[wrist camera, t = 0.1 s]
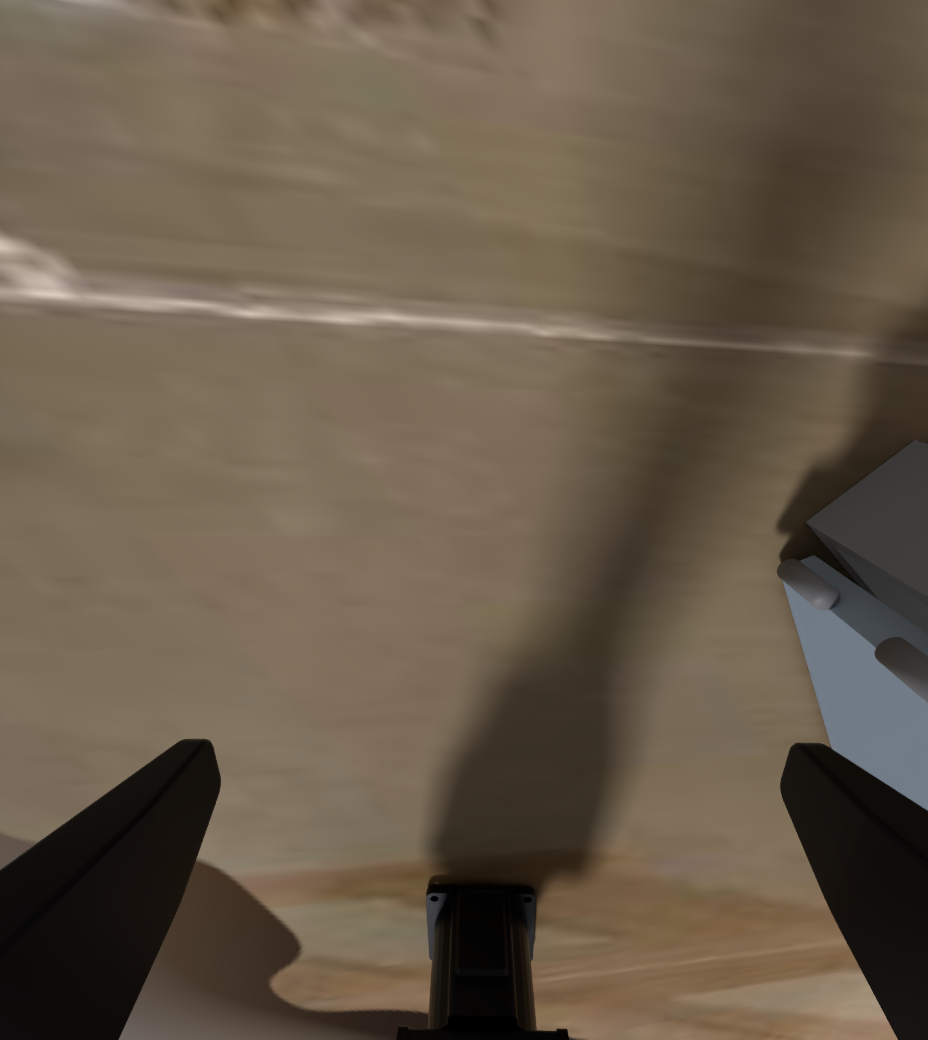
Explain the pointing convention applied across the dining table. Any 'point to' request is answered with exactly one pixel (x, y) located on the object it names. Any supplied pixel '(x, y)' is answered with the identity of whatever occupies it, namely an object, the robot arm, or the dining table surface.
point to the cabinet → (885, 532)
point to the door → (864, 674)
